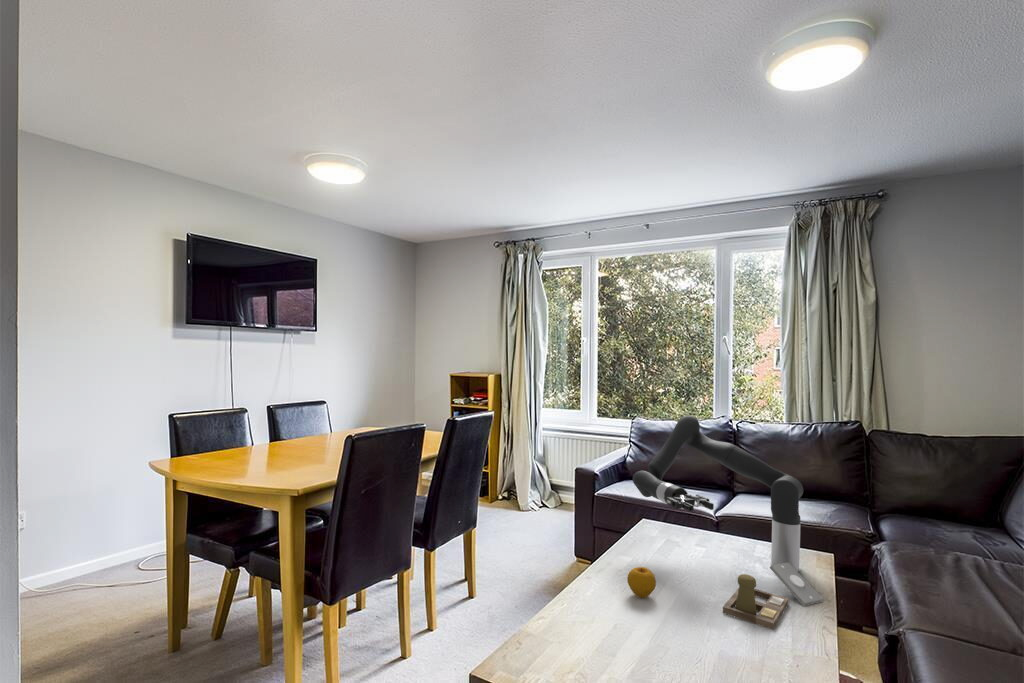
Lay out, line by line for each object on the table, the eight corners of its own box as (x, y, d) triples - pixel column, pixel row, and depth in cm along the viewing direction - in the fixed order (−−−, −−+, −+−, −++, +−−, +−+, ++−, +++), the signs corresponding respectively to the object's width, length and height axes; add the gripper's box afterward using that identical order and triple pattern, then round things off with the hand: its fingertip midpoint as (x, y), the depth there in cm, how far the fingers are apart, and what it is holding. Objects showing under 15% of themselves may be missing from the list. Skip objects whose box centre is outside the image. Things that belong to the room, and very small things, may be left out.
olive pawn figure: (731, 607, 159) (732, 571, 159) (750, 607, 160) (751, 571, 160) (741, 617, 153) (742, 580, 153) (761, 617, 154) (762, 580, 154)
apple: (633, 587, 171) (634, 559, 171) (659, 595, 166) (660, 567, 166) (622, 596, 164) (623, 568, 164) (649, 605, 159) (650, 576, 159)
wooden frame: (741, 590, 171) (741, 583, 171) (788, 604, 163) (788, 597, 163) (722, 612, 156) (722, 605, 156) (773, 629, 147) (773, 621, 147)
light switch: (806, 601, 161) (771, 563, 173) (797, 614, 164) (764, 575, 176) (824, 597, 165) (789, 560, 176) (816, 609, 167) (782, 572, 179)
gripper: (687, 503, 192) (719, 517, 177) (655, 506, 187) (685, 520, 172) (687, 483, 192) (719, 495, 177) (655, 485, 187) (686, 498, 172)
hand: (702, 507), depth 174 cm, fingers open, 8 cm apart
